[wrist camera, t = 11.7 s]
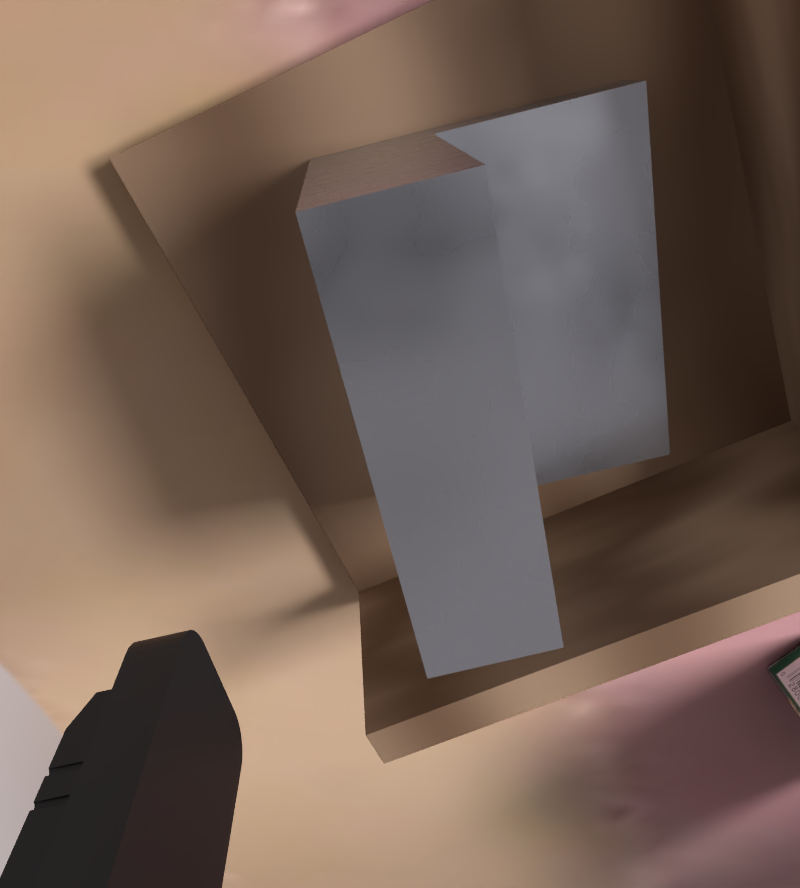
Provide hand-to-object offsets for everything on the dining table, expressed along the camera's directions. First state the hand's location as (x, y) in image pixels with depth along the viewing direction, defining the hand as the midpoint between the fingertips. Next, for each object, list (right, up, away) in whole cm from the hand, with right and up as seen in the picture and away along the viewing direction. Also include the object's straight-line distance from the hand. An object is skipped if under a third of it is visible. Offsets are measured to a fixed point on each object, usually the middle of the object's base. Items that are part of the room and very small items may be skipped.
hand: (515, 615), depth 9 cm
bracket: (+1, +6, +11) cm, 13 cm away
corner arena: (+2, +6, +12) cm, 14 cm away
